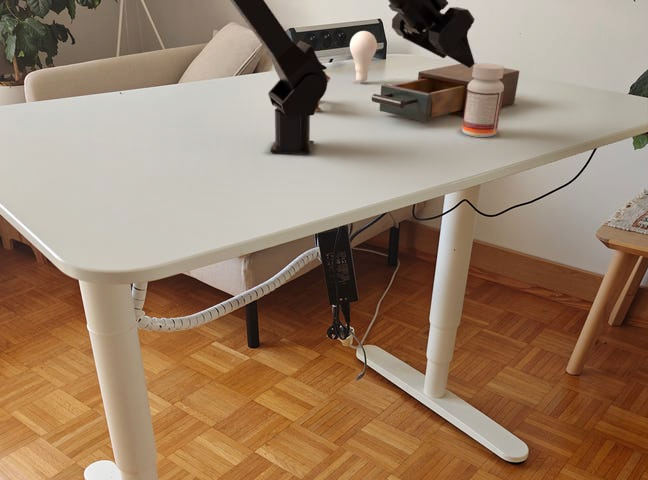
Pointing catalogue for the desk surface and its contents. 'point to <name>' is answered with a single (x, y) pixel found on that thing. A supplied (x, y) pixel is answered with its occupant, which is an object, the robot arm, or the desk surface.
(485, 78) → the pill bottle
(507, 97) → the cabinet
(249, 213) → the desk surface
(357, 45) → the lightbulb
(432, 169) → the desk surface
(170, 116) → the desk surface
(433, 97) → the drawer
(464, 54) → the robot arm
